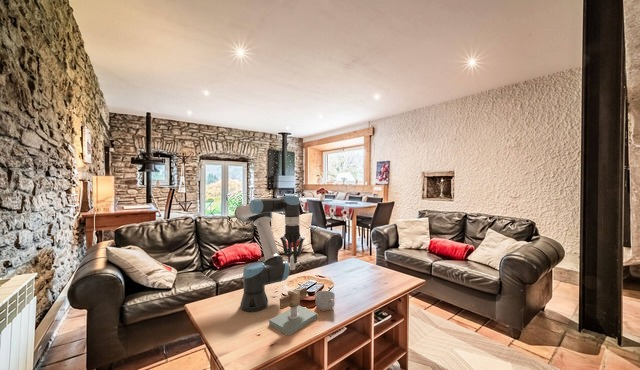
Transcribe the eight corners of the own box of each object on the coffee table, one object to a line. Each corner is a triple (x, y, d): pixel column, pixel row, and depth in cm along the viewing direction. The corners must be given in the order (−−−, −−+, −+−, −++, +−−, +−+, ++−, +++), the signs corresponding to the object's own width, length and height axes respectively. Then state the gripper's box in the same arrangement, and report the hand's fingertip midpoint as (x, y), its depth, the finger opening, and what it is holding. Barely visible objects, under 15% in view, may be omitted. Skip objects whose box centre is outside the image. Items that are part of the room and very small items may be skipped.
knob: (276, 308, 128) (276, 295, 127) (301, 296, 140) (301, 285, 140) (284, 312, 124) (284, 299, 124) (309, 300, 136) (309, 288, 136)
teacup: (312, 305, 149) (312, 291, 149) (330, 302, 153) (330, 288, 153) (321, 317, 136) (321, 302, 136) (340, 313, 140) (340, 298, 140)
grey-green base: (269, 324, 129) (269, 307, 129) (298, 309, 144) (298, 294, 144) (288, 335, 120) (288, 317, 120) (317, 318, 135) (317, 301, 135)
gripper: (277, 225, 136) (277, 270, 136) (302, 226, 132) (302, 272, 133) (283, 222, 143) (283, 265, 144) (306, 223, 139) (307, 267, 140)
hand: (292, 269), depth 138 cm, fingers closed
